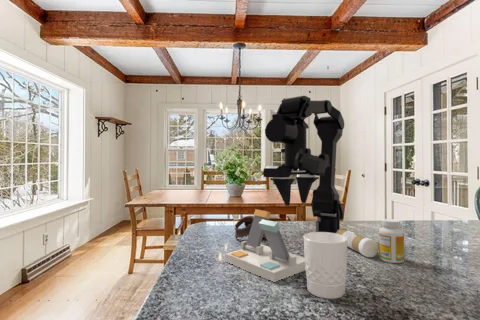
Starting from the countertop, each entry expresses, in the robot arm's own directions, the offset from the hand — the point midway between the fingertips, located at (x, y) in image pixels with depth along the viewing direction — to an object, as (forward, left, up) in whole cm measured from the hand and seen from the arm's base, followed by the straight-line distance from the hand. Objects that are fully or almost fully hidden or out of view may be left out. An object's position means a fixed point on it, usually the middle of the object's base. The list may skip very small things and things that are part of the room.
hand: (295, 204), depth 73 cm
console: (+9, +7, -13) cm, 17 cm away
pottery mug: (+10, -17, -13) cm, 24 cm away
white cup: (0, +21, -13) cm, 25 cm away
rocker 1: (+12, +3, -10) cm, 16 cm away
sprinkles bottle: (-16, -9, -11) cm, 21 cm away
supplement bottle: (-22, +6, -13) cm, 26 cm away
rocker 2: (+6, +11, -10) cm, 16 cm away
